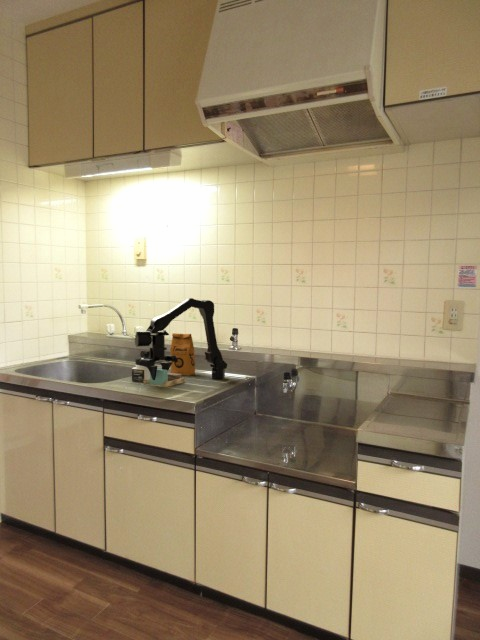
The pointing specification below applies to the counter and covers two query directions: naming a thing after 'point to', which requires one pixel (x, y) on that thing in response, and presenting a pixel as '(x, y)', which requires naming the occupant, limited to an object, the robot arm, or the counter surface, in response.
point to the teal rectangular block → (160, 377)
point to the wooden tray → (166, 384)
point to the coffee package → (183, 354)
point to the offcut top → (174, 376)
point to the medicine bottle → (140, 371)
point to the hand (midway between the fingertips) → (158, 379)
